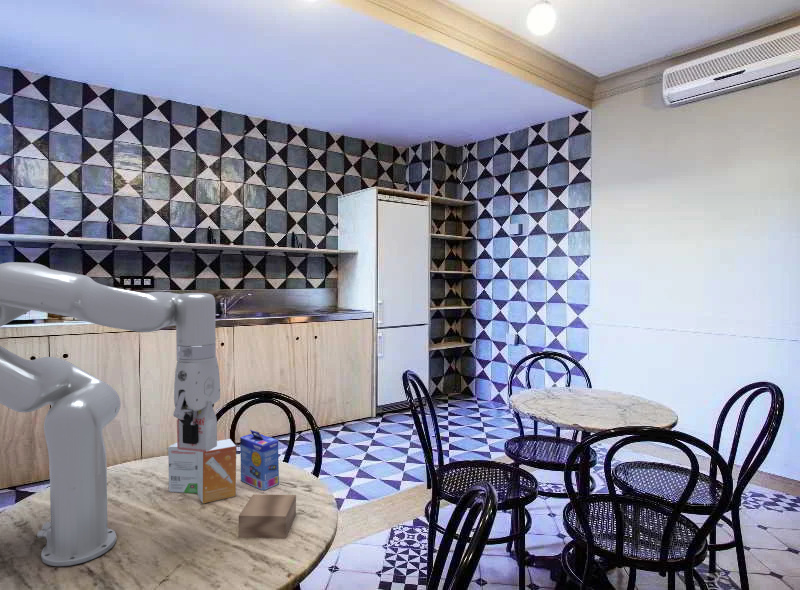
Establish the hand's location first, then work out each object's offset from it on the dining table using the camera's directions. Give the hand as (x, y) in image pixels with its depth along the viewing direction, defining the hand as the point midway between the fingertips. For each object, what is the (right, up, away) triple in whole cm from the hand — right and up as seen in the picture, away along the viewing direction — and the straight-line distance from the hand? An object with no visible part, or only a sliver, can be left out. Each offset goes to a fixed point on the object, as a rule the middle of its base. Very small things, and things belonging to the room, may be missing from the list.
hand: (197, 438), depth 102 cm
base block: (+13, -21, +6) cm, 26 cm away
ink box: (-12, -20, +24) cm, 34 cm away
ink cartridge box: (+5, -20, +28) cm, 35 cm away
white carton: (0, -2, 0) cm, 2 cm away
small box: (-4, -21, +20) cm, 29 cm away
